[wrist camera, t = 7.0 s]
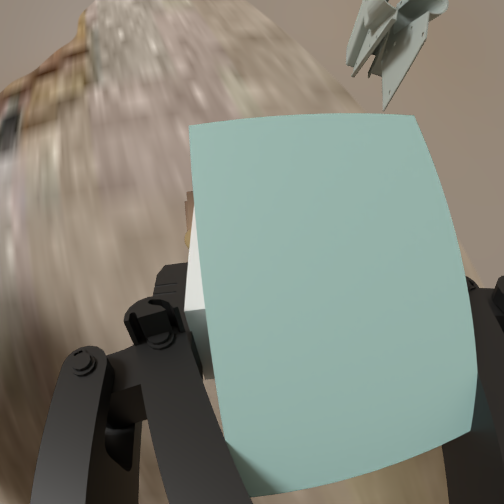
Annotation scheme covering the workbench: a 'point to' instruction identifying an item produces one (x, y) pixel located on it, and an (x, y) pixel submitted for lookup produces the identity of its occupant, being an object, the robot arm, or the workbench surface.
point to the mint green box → (330, 296)
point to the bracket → (390, 38)
